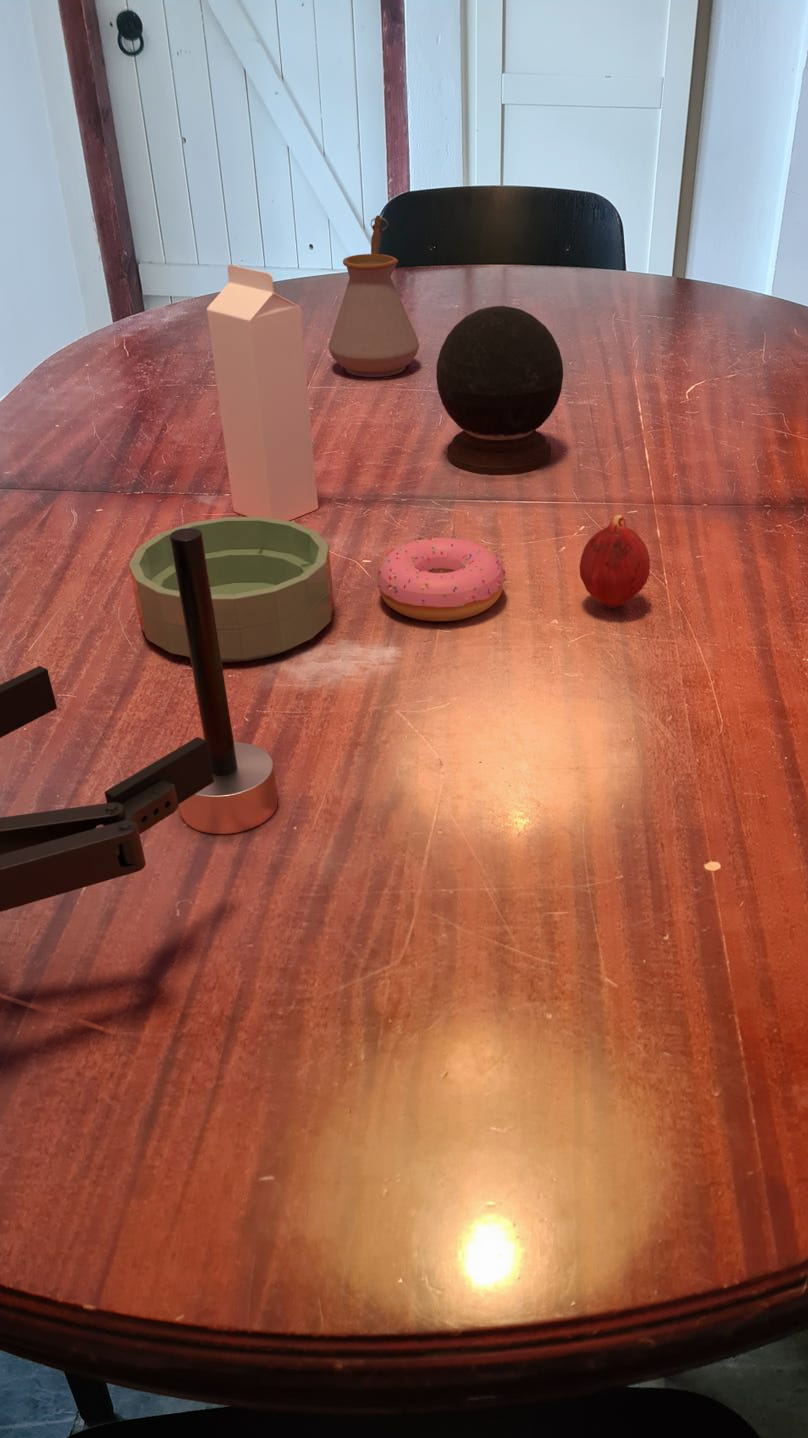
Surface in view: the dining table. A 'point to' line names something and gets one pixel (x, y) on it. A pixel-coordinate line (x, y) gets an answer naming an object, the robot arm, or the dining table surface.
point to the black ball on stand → (499, 390)
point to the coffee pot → (372, 317)
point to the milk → (263, 397)
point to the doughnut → (440, 579)
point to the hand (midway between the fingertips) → (124, 721)
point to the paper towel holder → (217, 711)
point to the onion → (615, 564)
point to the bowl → (240, 586)
